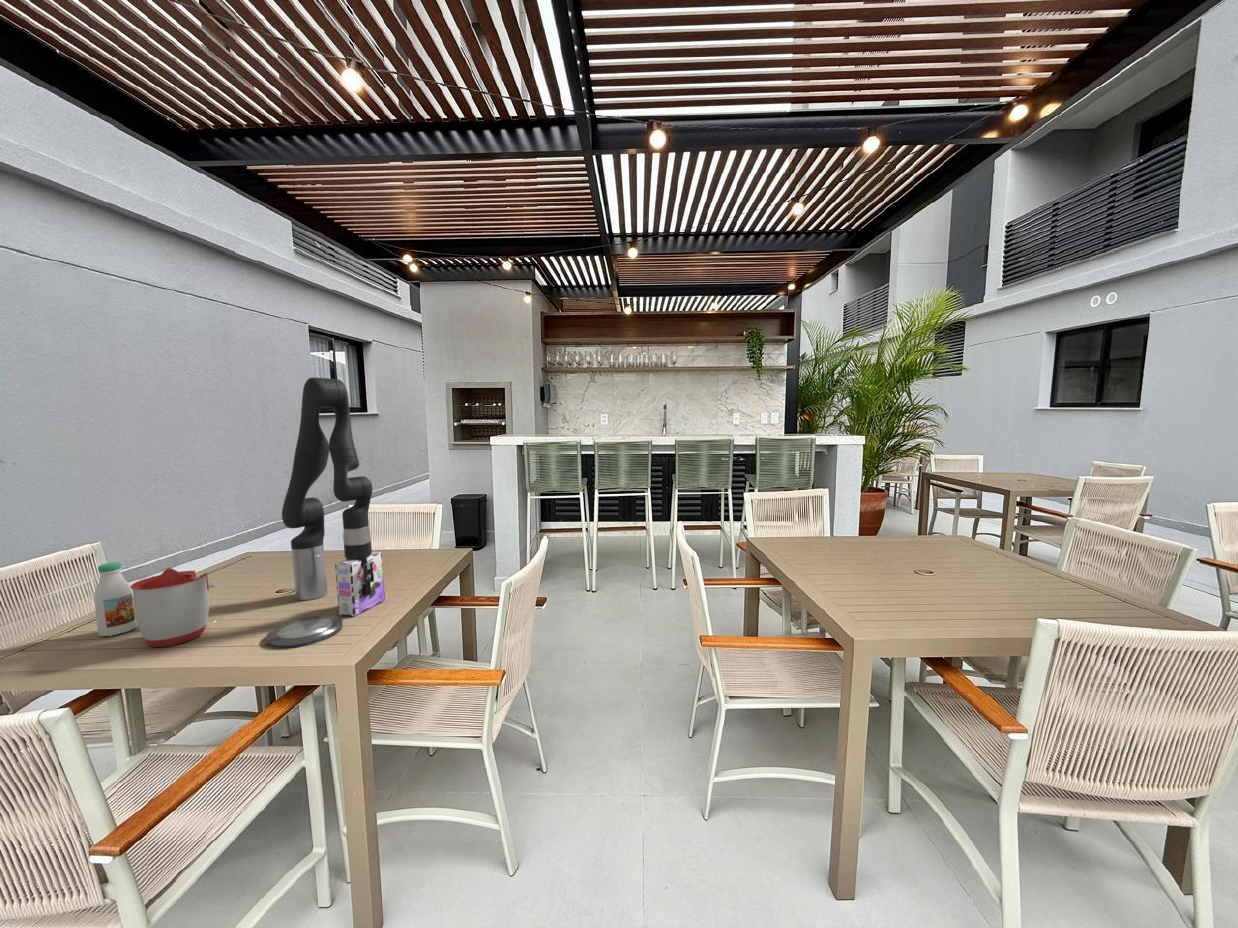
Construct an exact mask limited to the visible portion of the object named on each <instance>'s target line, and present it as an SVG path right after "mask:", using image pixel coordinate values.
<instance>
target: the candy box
mask: <svg viewBox="0 0 1238 928" xmlns="http://www.w3.org/2000/svg"><path fill="white" fill-rule="evenodd" d="M382 556H383V555H382V552H381V551H372V554H371V555H370V556H368V557H367V561H368V563H371V562H372V564H373V574H374V581H373V582H370V584H371V594H370V595H367V596H364V595H363V589H362V578H361V576H362V574H364V573H363V568H362V567H361V560H359V559H346V558H345V559H343V560H341V561H337V562H334V565H335V566H334V567H335V581H336V593H337V606H338V609H337V610H338V616H346V617H357V616H358V615H360V614H362V613H364V612H366V611H368V610H370V609H372V608H373V607H375V606H377V605H379V604H381V603H384V602H385V601H386V595H385V584H384V583H385V582H384V571H383V570H384V569H383V568H384V567H383V557H382ZM363 577H364V576H363ZM370 577H371V576H370ZM367 579H368V578H367Z"/></svg>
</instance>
